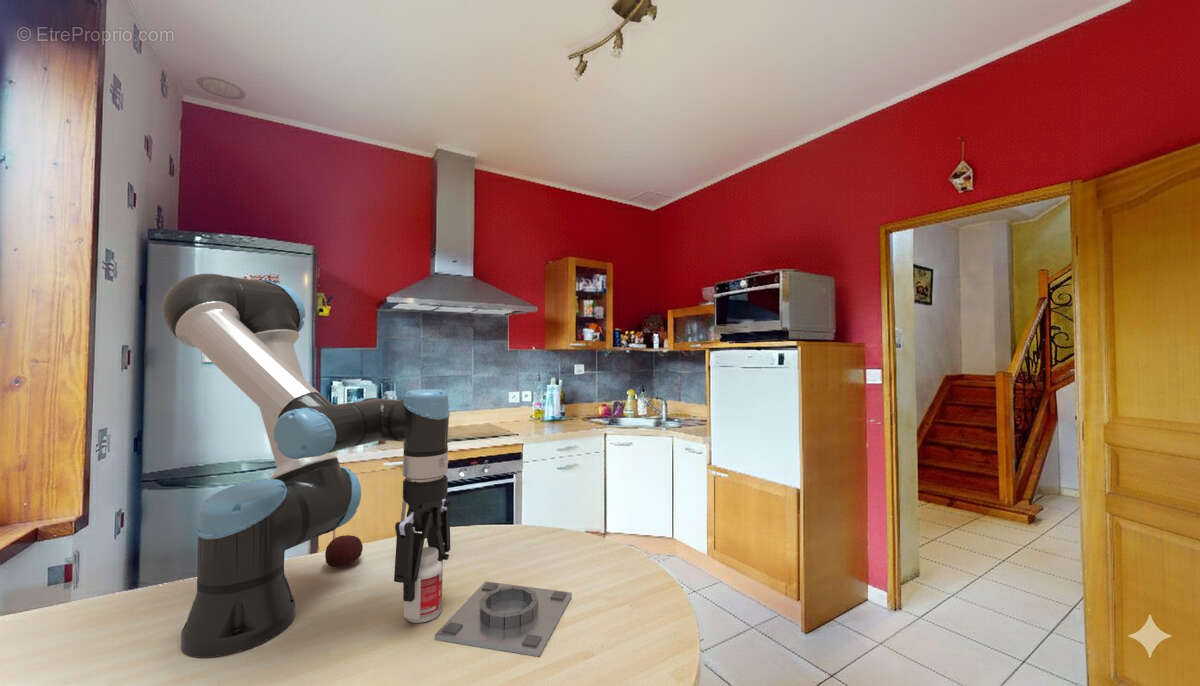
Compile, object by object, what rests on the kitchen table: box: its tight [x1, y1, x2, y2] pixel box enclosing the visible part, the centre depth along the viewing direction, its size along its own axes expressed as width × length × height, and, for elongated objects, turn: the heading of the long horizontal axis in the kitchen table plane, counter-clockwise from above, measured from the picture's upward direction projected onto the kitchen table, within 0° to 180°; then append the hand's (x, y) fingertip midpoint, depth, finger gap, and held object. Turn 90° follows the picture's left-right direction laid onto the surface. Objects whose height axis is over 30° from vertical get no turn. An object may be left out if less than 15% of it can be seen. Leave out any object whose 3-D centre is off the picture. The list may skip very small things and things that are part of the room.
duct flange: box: [434, 581, 573, 657], centre depth 83 cm, size 18×18×3 cm
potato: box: [324, 534, 364, 569], centre depth 102 cm, size 7×8×6 cm
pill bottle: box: [405, 546, 443, 624], centre depth 83 cm, size 6×6×11 cm
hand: (423, 606), depth 83 cm, fingers closed on pill bottle, 6 cm apart
